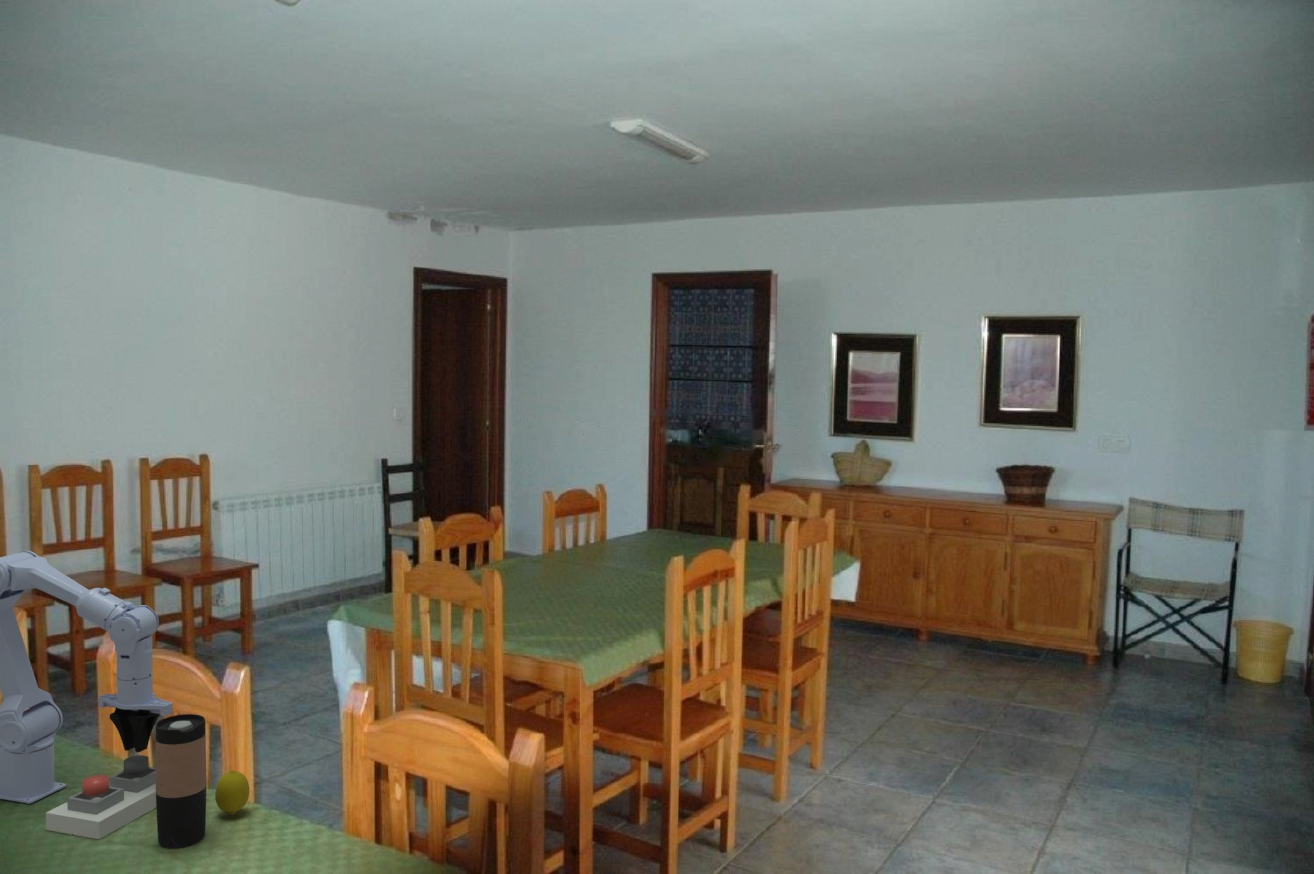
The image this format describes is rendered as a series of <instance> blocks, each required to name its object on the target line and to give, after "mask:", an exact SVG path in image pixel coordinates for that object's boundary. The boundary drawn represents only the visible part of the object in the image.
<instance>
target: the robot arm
mask: <svg viewBox="0 0 1314 874" xmlns="http://www.w3.org/2000/svg"><path fill="white" fill-rule="evenodd" d="M31 589H36V590H39V591H42V592H44V593H46V594H48V595H51V596H53V597H55V598H57V599H60V600H61V601H63V602H67V603H68V604H69V605H73V606H74V607H76V613H77V615H78V616H79V617H81V618H82V619H84V620H86V621H88V622H90V623H92V624H94V625H96V626H97V627H99V628H101V629H103V630H104V631H106V632H107V633H108V636H109V638H110V640H111V641H112V642H113V644H114V652H115V653H116V693H105V694H102V695H100V696H98V697H97V700H98V702H97V703H98V704H97V705H98V706H97V707H98V708H105V707H108V708H114V709H115V710H114V712H111V713H110V714H109V719H110V721H111V722H112V723H113V725H114V726H115V728H116V730H117V732H118V734H119V737H120V740H121V742H122V746H123V749H124V751H130V750H132V749H134V751H135V753H141V752H143V751H145V750H147V749H148V747H149V742H150V738H151V735H152V732H153V729H154V726H156V724H157V722H158V721H157V720H158V719H159V717H160V716H161V717H166V716H167V717H168V716H169V715H171V714H173V712H174V702H171V701H167V700H165V699H162V698H159V697H156V693H154V690H153V689H154V681H153V679H154V677H153V676H154V675H153V672H154V670H153V668H154V667H153V635H154V634H155V633H156V632H157V631H158V629H159V626H160V620H159V616H158V615H157V612H156V611H155V610H153V609H152V608H151V607H150V606H149V605H145V604H144V605H137V606H136V605H134V604H133V602H130V601H124V600H123V599H121V598H120V597H117V596H116V595H114V594H112V593H111V590H110V589H108V588H107V587H103V588H101V587H94V588H92V589H88V588H87V587H85V586H83V585H82V584H80V583H78V582H77V581H76V580H74V579H72V578H70V577H69V576H67V575H66V574H64V573H63V572H61V571H59V570H58V569H57V568H55V567H54V566H52V565H50V564H49V561H48V560H47V558H46V557H43V556H41V555H38V554H37V553H35V552H33V551H31V550H21V551H18V552H16V553H13V554H8V555H5V556H0V692H1V695H2V698H3V699H2V702H1V704H0V800H6V801H11V802H16V803H23V804H33V803H35V802H36V801H39V800H42V799H43V798H45V797H47V796H49V795H52V794H53V793H56V792H58V791H60V790H62V789H65V788H66V787H67V783H64V782H58V781H56V780H55V739H57V736H56V733H57V732H58V731H59V730H60V729H61V727H62V726H63V722H64V721H63V720H64V717H63V716H64V715H63V712H62V711H61V709H60V707H59V706H58V705H57V704H56V703H55V702H54V700H53V697H52V694H51V693H50V692H48V691H46V690H44V689H41V688H40V687H39V686H38V683H37V679H36V676H35V673H34V670H33V667H32V663H31V660H30V656H29V654H28V651H27V648H26V643H25V641H24V639H23V636H22V635H23V634H22V633H21V629H20V626H19V623H18V620H17V617H16V613H15V610H14V606H15V605H16V603H17V601H19V599H20V597H21V595H22V594H23V593H24V592H25V591H27V590H31Z"/></svg>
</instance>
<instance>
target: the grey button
mask: <svg viewBox="0 0 1314 874" xmlns="http://www.w3.org/2000/svg"><path fill="white" fill-rule="evenodd" d="M149 761H150V760H149V756H147V755H140V754H139V755H133V756H129V757H126V758H125V759H124V760H123V771H124V774H126V775H137V774H141V773H144V772H146V771H148V769H149V767H150V766H149V765H150V764H149Z"/></svg>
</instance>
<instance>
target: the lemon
mask: <svg viewBox="0 0 1314 874" xmlns="http://www.w3.org/2000/svg"><path fill="white" fill-rule="evenodd" d="M216 783H217V784H216V787H215V795H214V796H215V798H214V799H215V803H216V806H217V807H218V808H219V809H220V810H221V811H223V812H224V813H228V814H230V815H235V814H236V813H237V812H238V811H241V809H243V808H244V807H245V806H246V805H247V803H248V802H249V801H248V800H249V797H250V784H249V782H248V778H247V777H246V775H245V774H243V772H239V771H236V770H234V769H231V770H229V772H226V773H224V774H223V775H222V776H221V777H220V778H219V780H218V781H217V782H216Z"/></svg>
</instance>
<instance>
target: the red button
mask: <svg viewBox="0 0 1314 874" xmlns="http://www.w3.org/2000/svg"><path fill="white" fill-rule="evenodd" d="M109 781H110V776H109V775H107V774H95V775H90V776H87V777H86V778H84V779H82V783H81V784H82V791H83V794H84V795H87V796H94V795H99V794H103V793H105V792H107V791H108V790H109Z"/></svg>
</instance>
